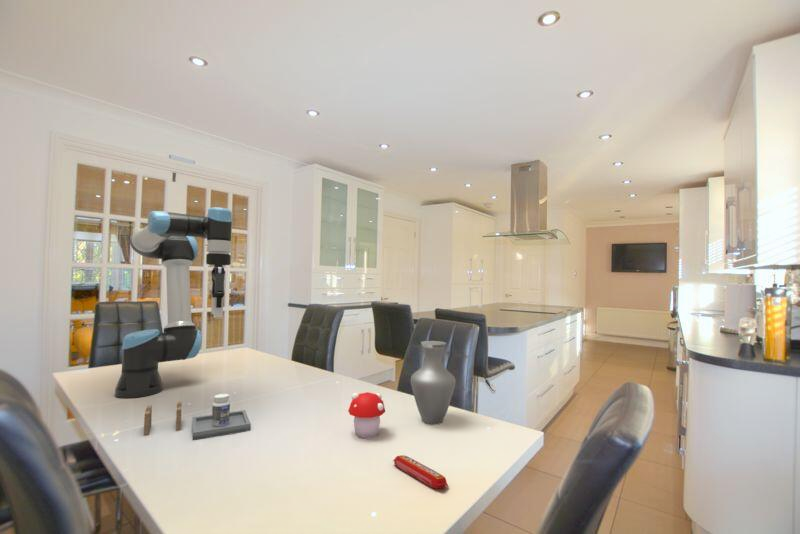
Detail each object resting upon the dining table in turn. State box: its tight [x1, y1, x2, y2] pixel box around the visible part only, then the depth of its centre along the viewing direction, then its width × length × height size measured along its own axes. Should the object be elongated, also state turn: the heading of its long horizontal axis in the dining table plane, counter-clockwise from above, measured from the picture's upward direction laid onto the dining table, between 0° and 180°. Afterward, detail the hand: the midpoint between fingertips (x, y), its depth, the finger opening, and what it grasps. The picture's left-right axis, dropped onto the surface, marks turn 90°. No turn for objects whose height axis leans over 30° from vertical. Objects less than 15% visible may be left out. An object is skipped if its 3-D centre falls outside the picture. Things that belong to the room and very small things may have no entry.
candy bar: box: [392, 454, 449, 489], centre depth 88 cm, size 16×4×3 cm, turn 41°
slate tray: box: [191, 409, 252, 441], centre depth 114 cm, size 13×15×2 cm
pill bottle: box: [211, 393, 231, 426], centre depth 114 cm, size 5×5×8 cm
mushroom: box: [347, 391, 386, 439], centre depth 111 cm, size 11×11×12 cm
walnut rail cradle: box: [143, 401, 183, 436], centre depth 113 cm, size 8×9×6 cm
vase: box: [410, 340, 457, 425], centre depth 123 cm, size 14×14×25 cm
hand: (216, 315), depth 129 cm, fingers open, 13 cm apart
